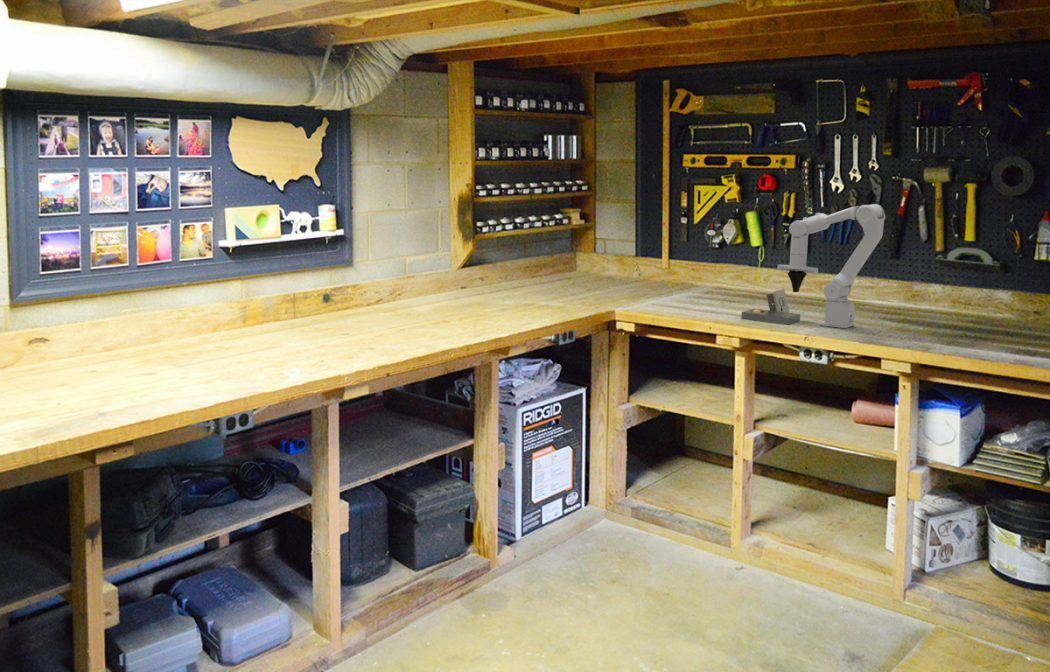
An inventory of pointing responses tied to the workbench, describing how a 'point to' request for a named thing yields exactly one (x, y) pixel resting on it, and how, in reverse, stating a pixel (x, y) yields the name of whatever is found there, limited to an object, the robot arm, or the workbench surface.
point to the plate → (771, 316)
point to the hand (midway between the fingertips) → (795, 291)
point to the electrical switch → (778, 301)
